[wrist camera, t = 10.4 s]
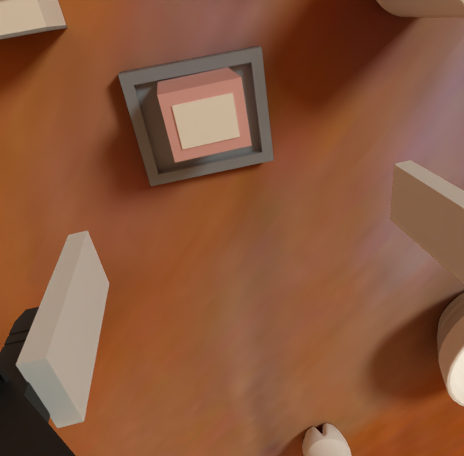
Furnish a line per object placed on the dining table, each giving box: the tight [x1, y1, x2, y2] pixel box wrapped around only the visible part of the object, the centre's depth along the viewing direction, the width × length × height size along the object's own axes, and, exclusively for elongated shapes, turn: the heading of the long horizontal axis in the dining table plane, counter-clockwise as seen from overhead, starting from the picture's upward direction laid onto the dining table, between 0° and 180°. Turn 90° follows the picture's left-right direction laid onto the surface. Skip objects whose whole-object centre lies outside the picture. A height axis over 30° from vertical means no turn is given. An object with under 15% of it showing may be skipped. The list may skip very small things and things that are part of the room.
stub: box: [157, 67, 252, 163], centre depth 31 cm, size 5×6×7 cm
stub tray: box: [118, 46, 274, 186], centre depth 34 cm, size 10×12×2 cm
